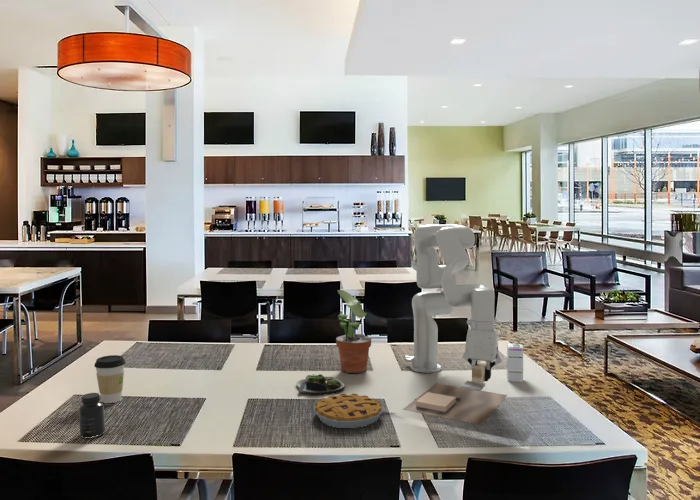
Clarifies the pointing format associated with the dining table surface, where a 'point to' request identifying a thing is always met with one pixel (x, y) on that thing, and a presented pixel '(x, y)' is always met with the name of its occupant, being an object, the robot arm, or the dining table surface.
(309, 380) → the salad plate
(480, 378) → the tan bar
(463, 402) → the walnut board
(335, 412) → the pie
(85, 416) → the supplement bottle
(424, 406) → the tile
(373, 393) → the dining table surface
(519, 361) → the syrup box
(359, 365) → the potted plant
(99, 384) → the coffee cup
